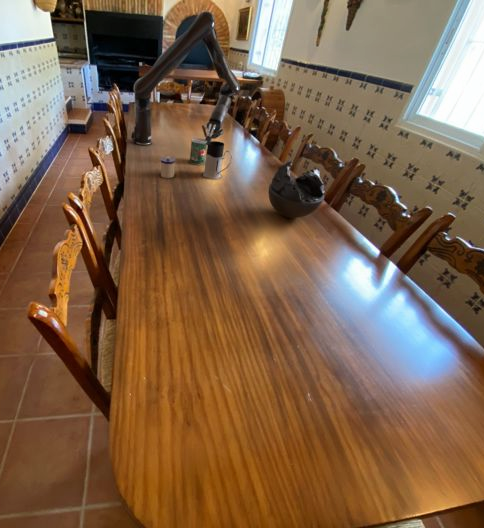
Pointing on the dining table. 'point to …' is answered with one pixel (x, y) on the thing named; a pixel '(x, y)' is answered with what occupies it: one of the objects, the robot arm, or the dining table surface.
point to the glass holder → (214, 160)
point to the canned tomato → (198, 151)
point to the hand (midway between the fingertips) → (206, 144)
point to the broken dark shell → (296, 192)
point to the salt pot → (167, 167)
